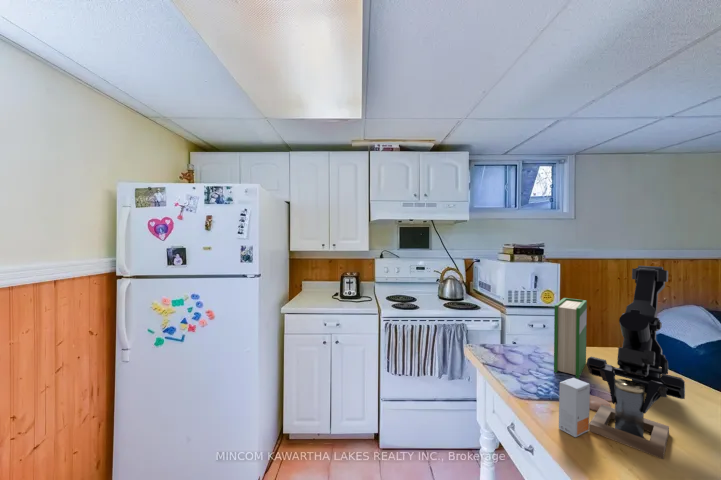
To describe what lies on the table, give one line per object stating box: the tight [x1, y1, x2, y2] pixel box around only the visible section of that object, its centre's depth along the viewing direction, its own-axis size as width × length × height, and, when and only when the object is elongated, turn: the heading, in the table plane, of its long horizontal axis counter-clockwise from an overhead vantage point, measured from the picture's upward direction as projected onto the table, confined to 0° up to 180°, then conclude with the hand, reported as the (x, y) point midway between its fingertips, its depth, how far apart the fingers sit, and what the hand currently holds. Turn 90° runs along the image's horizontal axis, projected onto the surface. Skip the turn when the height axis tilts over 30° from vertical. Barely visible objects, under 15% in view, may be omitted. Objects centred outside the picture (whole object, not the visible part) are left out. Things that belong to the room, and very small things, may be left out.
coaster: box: [589, 394, 612, 412], centre depth 91 cm, size 8×8×1 cm
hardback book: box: [553, 297, 588, 379], centre depth 116 cm, size 18×7×24 cm, turn 138°
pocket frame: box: [588, 405, 670, 460], centre depth 78 cm, size 13×13×2 cm
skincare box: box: [558, 377, 591, 438], centre depth 79 cm, size 6×4×12 cm
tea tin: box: [614, 378, 645, 438], centre depth 78 cm, size 6×6×12 cm
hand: (628, 407), depth 77 cm, fingers closed on tea tin, 5 cm apart
